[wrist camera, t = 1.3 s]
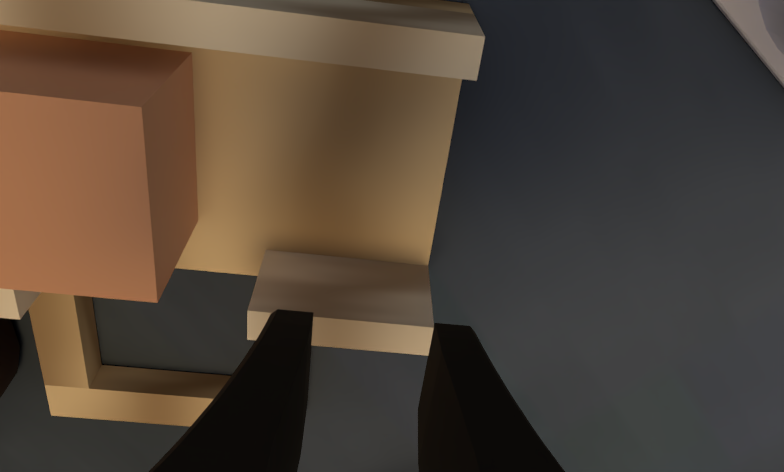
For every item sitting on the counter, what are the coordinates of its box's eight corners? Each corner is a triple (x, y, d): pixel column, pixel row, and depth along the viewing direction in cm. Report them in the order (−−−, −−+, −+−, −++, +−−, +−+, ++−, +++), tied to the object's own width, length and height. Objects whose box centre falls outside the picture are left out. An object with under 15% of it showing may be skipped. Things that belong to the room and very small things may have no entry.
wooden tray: (468, 3, 17) (490, 46, 14) (395, 418, 25) (397, 513, 22) (-231, -86, 16) (-410, -64, 12) (-74, 380, 24) (-155, 474, 20)
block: (192, 52, 17) (141, 107, 13) (198, 220, 19) (157, 302, 16) (-11, 28, 16) (-116, 78, 13) (24, 203, 19) (-57, 283, 15)
